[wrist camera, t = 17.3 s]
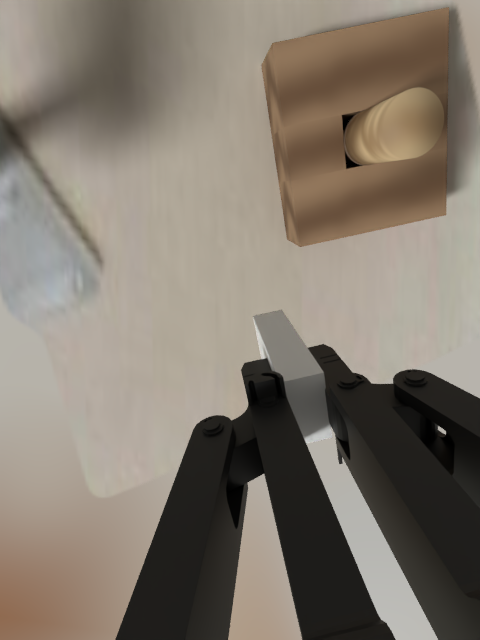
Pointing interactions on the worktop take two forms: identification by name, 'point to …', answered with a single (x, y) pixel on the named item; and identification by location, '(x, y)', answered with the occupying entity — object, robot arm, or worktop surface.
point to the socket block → (342, 104)
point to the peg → (395, 128)
